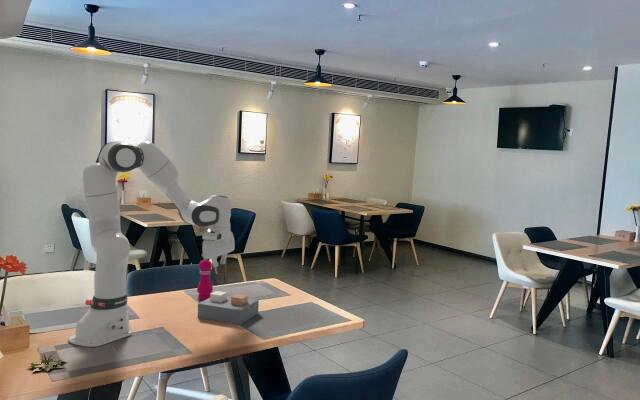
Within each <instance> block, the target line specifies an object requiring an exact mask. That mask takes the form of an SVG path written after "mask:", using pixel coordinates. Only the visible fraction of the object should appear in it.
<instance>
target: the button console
mask: <svg viewBox="0 0 640 400" xmlns="http://www.w3.org/2000/svg"><path fill="white" fill-rule="evenodd" d="M232 296H233V295H230V294H227V300H225V301H223V302H221V303H219V302H213V301H210V298H208V299H206V300H201V301H200V302H199V303H198V302H197V318H199V319H204V320H210V321H215V322H222V323H228V324H235V325H242V324H244V323H246V322H247V321H249V320H250V319H251V318H254V317H255V316H257V315H258V314H259V307H260V305H259V303H260V302H259V301H260V300H259V299H257V298H249V297H248V301H247V304H245V305H243V306H238V305H232V304H231V297H232Z"/></svg>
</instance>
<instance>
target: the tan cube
mask: <svg viewBox="0 0 640 400" xmlns="http://www.w3.org/2000/svg"><path fill="white" fill-rule="evenodd" d="M231 296H232V297H231V304H232V305H238V306H243V305H245V304H247V301H248V298H249V297H248V295H247V294H241V293H236V294H234V295H231Z"/></svg>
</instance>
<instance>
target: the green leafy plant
mask: <svg viewBox="0 0 640 400" xmlns="http://www.w3.org/2000/svg"><path fill="white" fill-rule="evenodd" d="M54 354H56V352H54V351H51V353H50V354H49V356H48V357H46V355H45V353H43V354H41V358H39V360H41V364H42V363H45V364H46V363H47V364H46V365H48V366H49V365H50V364H49V362H51V361H52V362H53V359H55V356H54ZM47 359H48V360H47ZM54 362H57V363H58V364H56V365H62V363H59V362H64V360H58V361H54ZM41 364H31V366H29V367H34V368H33V369H35V368H40V367H35V366H38V365H41ZM46 365H45V366H46ZM56 365H55V366H56ZM55 366H54V367H51V366H50V367H51V368H50V369H52V370H54V369H53V368H55ZM46 368H47V367H46ZM46 368H40V369H41V370H43V369H44V370H43V371H46Z"/></svg>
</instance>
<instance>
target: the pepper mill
mask: <svg viewBox="0 0 640 400" xmlns="http://www.w3.org/2000/svg"><path fill="white" fill-rule="evenodd" d="M212 267H213V262H212V261H210V259H207V258H204V257H203V259H202V260H200V261H199V263H198V268H199V274H200V280H199V283H198V285H197V287H196V288H197V289H196V292H197V293H198V295H197V299H198V301H204V300H206V299H208V298H210V294H211V293H213V292H214V291H213V290H214V288H213V284H212V282H211V279H210V278H211V277H210V276H211V269H212Z"/></svg>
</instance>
